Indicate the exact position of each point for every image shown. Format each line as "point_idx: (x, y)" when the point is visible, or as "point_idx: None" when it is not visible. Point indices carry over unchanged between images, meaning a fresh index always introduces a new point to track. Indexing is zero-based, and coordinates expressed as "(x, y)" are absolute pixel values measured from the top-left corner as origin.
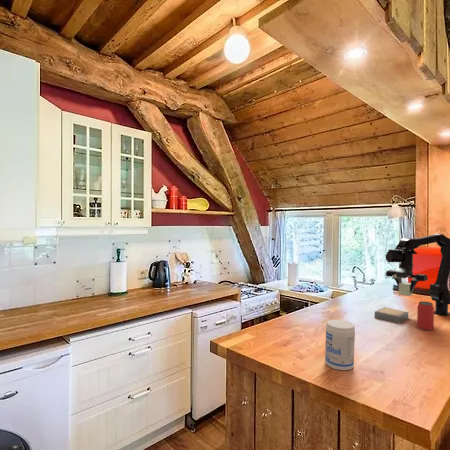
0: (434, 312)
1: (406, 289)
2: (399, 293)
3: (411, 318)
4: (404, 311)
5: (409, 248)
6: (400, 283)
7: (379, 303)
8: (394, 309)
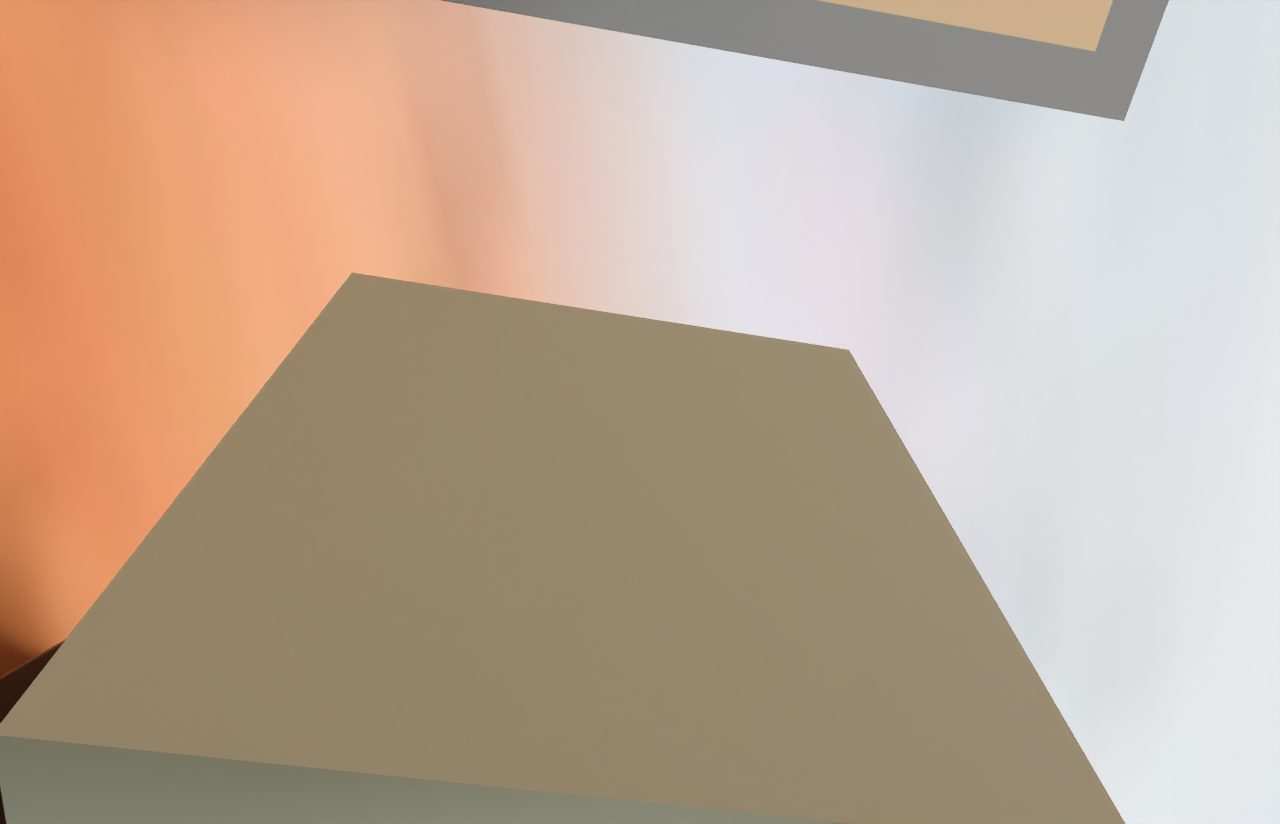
0: None
1: (421, 459)
2: (820, 361)
3: (383, 7)
4: (543, 4)
5: None
6: (983, 817)
7: (1160, 771)
8: (835, 53)
